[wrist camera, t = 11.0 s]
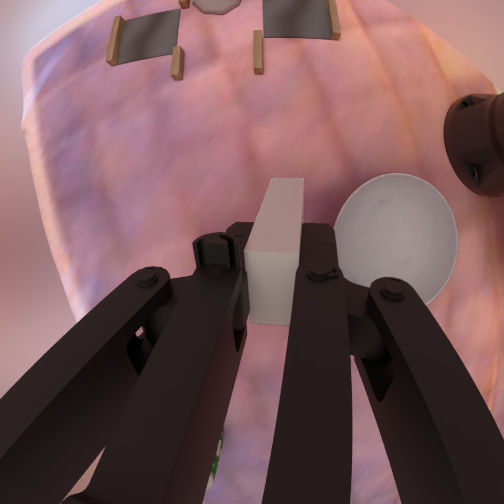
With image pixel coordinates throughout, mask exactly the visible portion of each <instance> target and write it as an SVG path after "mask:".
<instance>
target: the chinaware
mask: <svg viewBox="0 0 504 504" xmlns="http://www.w3.org/2000/svg"><path fill="white" fill-rule="evenodd" d="M333 229H334V230H335V237H336V246H337V254H338V263H339V268H340V269H341V270H342V273H343V276H344V277H345V278H346V279H347V280H349V281H351V282H353V283H355V284H358V285H362V286H366V287H370V285H371V283H372V282H373V281H374V280H376V279H378V278H382V277H395V278H399V279H402V280H404V281H406V282H407V283H409V284H410V285H411V286H412V287H413V288H414V289H415V291H416V292H417V293H418V295H419V296H420V298H421V299H422V300H423V302H424V303H425V305H427V304H428V303H430V302H431V301H432V300H433V299H434V298H435V297H436V296H437V295H438V294H439V293H440V292H441V291H442V289H443V288H444V286H445V285H446V283H447V282H448V280H449V278H450V276H451V274H452V271H453V269H454V266H455V262H456V258H457V252H458V232H457V226H456V221H455V218H454V215H453V213H452V210H451V208H450V206H449V204H448V203H447V201H446V199H445V198H444V197H443V195H442V194H441V193H440V192H439V191H438V190H437V189H436V188H435V187H434V186H433V185H431V184H430V183H428V182H427V181H425V180H423V179H422V178H419V177H417V176H414V175H410V174H405V173H389V174H384V175H380V176H377V177H375V178H373V179H371V180H369V181H367V182H365V183H364V184H362V185H361V186H360V187H359V188H357V189H356V190H355V191H354V192H353V193H352V194H351V195H350V196H349V198H348V199H347V200H346V202H345V203H344V205H343V206H342V208H341V210H340V212H339V214H338V216H337V219H336V221H335V225H334V228H333Z"/></svg>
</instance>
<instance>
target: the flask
mask: <svg viewBox="0 0 504 504" xmlns="http://www.w3.org/2000/svg"><path fill="white" fill-rule="evenodd" d="M240 1H241V0H193V5H194V6H195V7H197V8H198V9H199V10H200V11H202V12H203V13H209V14H221V15H223V14H225V13H226V12H228V11H230V10H231V9H233V8H235V7H236V6H238V5H239V4H240Z"/></svg>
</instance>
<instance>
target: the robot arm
mask: <svg viewBox="0 0 504 504" xmlns="http://www.w3.org/2000/svg"><path fill="white" fill-rule="evenodd" d="M444 138H445V145H446V150H447V153H448V156H449V159H450V162H451V164H452V166H453V168H454V170H455V172H456V174H457V175H458V177H459V178H460V179H461V181H462V182H463V183H464V184H465V185H466V186H467V187H468V188H469V189H470V190H472V191H473V192H475V193H476V194H478V195H481V196H485V197H499V196H503V195H504V93H501V94H499V95H492V94H470V95H467V96H465V97H463V98H461V99H459V100H457V101H456V102H455V103H454V104H453V105H452V106H451V107H450V109H449V111H448V113H447V116H446V119H445V126H444ZM192 244H193V250H194V256H195V261H196V267H197V268H196V270H195V271H194V273H193V275H191V276H187V277H180V278H173V279H170V275H169V273H168V271H167V270H166V269H164V268H162V267H155V266H152V267H145V268H143V269H140V270H138V271H136V272H135V273H133V274H132V275H130V276H129V277H128V278H127V279H126V280H125V281H123V282H122V283H121V284H120V285H119V286H118V287H117V288H115V289H114V290H113V291H112V292H111V293H110V294H109V295H108V296H106V297H105V298H104V299H103V300H102V301H101V302H100V303H99V304H97V305H96V306H95V307H94V308H93V309H92V310H91V311H90V312H89V313H88V314H86V315H85V316H84V317H83V318H82V319H81V320H80V321H79V322H78V323H77V324H76V325H75V326H73V327H72V328H71V329H70V330H69V331H68V332H67V333H66V334H65V335H64V336H63V337H62V338H61V339H60V340H59V341H58V342H56V343H55V344H54V345H53V346H52V347H51V348H50V349H49V350H48V351H47V352H46V353H45V354H44V355H43V356H42V357H41V358H40V359H39V360H38V361H37V362H36V363H35V364H34V365H33V366H32V367H31V368H30V369H29V370H28V371H27V372H26V373H25V374H24V375H23V376H22V377H21V378H20V379H19V380H18V381H17V382H16V383H15V384H14V385H13V386H12V387H11V388H10V389H9V391H8V392H7V393H6V394H5V395H4V396H3V397H2V398H1V399H0V504H60V503H61V504H202V502H203V499H204V495H205V492H206V488H207V484H208V481H209V477H210V474H211V470H212V466H213V463H214V459H215V455H216V452H217V448H218V444H219V440H220V437H221V433H222V429H223V426H224V422H225V418H226V414H227V411H228V407H229V403H230V399H231V395H232V392H233V388H234V384H235V380H236V376H237V372H238V368H239V365H240V361H241V357H242V353H243V349H244V345H245V341H246V337H247V324H246V322H247V318H248V314H249V318H250V323H257V324H271V325H286V326H290V327H289V336H288V343H287V351H286V359H285V366H284V373H283V380H282V387H281V394H280V401H279V407H278V414H277V420H276V426H275V432H274V438H273V444H272V450H271V456H270V462H269V467H268V473H267V478H266V483H265V489H264V494H263V499H262V504H350V495H351V475H352V382H351V360H350V355H353V356H354V360H355V363H356V366H357V368H358V371H359V374H360V376H361V379H362V382H363V385H364V388H365V390H366V393H367V396H368V399H369V402H370V405H371V407H372V410H373V413H374V416H375V419H376V422H377V425H378V428H379V431H380V434H381V437H382V440H383V443H384V446H385V450H386V453H387V456H388V459H389V462H390V466H391V469H392V472H393V476H394V479H395V482H396V486H397V489H398V493H399V496H400V500H401V503H402V504H504V439H503V437H502V435H501V433H500V431H499V429H498V427H497V424H496V422H495V420H494V418H493V416H492V414H491V413H490V411H489V409H488V407H487V405H486V403H485V401H484V399H483V397H482V395H481V394H480V392H479V390H478V388H477V386H476V385H475V383H474V381H473V379H472V377H471V376H470V374H469V372H468V371H467V369H466V367H465V365H464V364H463V362H462V360H461V359H460V357H459V356H458V354H457V352H456V351H455V349H454V347H453V346H452V344H451V343H450V341H449V339H448V338H447V336H446V335H445V333H444V332H443V330H442V329H441V327H440V326H439V324H438V323H437V321H436V320H435V318H434V317H433V315H432V314H431V312H430V311H429V309H428V308H427V306H426V305H425V303H424V302H423V300H422V299H421V298H420V296H419V295H418V293H417V292H416V291H415V289H414V288H413V287H412V286H411V285H410V284H409V283H407V282H406V281H404V280H402V279H399V278H395V277H382V278H378V279H376V280H374V281H373V282H372V283H371V285H370V287H366V286H362V285H358V284H355V283H353V282H351V281H349V280H347V279H346V278H345V277H344V276H343V273H342V270H341V269H340V268H339V263H338V254H337V246H336V237H335V230H334V229H333V228H332V227H331V226H330V225H329V224H317V223H304V178H280V177H272V178H271V180H270V183H269V186H268V188H267V191H266V193H265V196H264V199H263V201H262V204H261V207H260V209H259V212H258V215H257V217H256V220H255V222H236V223H234V224H233V225H231V226H230V227H229V228H228V229H227V231H226V232H225V233H223V232H218V233H210V234H206V235H203V236H201V237H199V238H197V239H196V240H195V241H194V242H193V243H192ZM140 327H142V329H143V333H142V334H141V335H139V336H138V337H137V336H136V334H135V333H136V332H137V330H138V329H139V328H140ZM105 446H106V447H105ZM104 447H105V449H104V451H103V454H102V456H101V459H100V460H99V462H98V465H97V467H96V469H95V471H94V474H93V476H92V478H91V480H90V483H89V485H88V486H87V488H86V489H85V490H84V491H83V492H80V493H77V494H74V495H71V496H69V497H67V498H66V499H65V500H64V501H62V500H63V499H64V498H65V496H66V495H67V494H68V493H69V492H70V490H71V489H72V488H73V486H74V485H75V484H76V483H77V481H78V480H79V479H80V478H81V476H82V475H83V474H84V473H85V471H86V470H87V469H88V468H89V466H90V465H91V464H92V463H93V461H94V460H95V459H96V457H97V456H98V455H99V454H100V452H101V451H102V450H103V448H104Z"/></svg>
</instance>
